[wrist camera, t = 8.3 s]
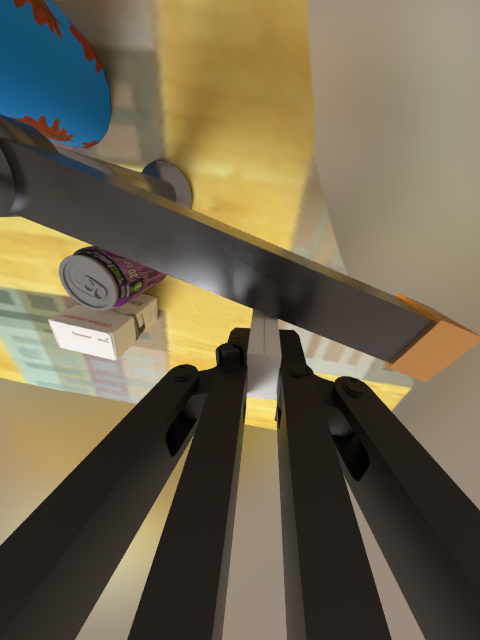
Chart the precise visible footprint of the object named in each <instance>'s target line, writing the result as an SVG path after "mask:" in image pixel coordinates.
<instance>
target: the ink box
mask: <svg viewBox="0 0 480 640" xmlns="http://www.w3.org/2000/svg"><path fill="white" fill-rule="evenodd" d="M157 320H158V304H157V297H154V296H149V295H145V294H140V295H138V296H137V297H135V298H134V299H132V300H131V301H129V302H127V303H126V304H124V305H122V306H120V307H117V308H110V309H108V310H105V311H94V310H91V309H88V308H86V307H84V306H82V305H80V304H78V305H76V306H74V307H72V308H70V309H68V310H66V311H64V312H62V313H60V314H58V315H56V316H54V317H52V318H50V319H49V323H50V326H51V328H52V331H53V333H54V336H55V338H56V341H57V343H58V346H59V347H60V348H65V349H69V350H74V351H78V352H82V353H86V354H91V355H95V356H99V357H103V358H107V359H112V360H117V359H118V358H119V357H120V356H121V355H122V354H123V353H124V352H125V351H126V350H127V349H128V348H129V347H130V346H131V345H132V344H133V343H134V342H135V341H136V340H137V339H138V338H139V337H140V336H141V335H142V334H143V333H144V332H145V331H147V330H148V329H149V328H150V327H151V326H152V325H153V324H154V323H155V322H156V321H157Z"/></svg>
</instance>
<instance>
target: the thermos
mask: <svg viewBox="0 0 480 640" xmlns="http://www.w3.org/2000/svg"><path fill="white" fill-rule="evenodd" d="M0 114H2V115H5V116H7V117H10V118H13V119H16V120H18V121H21V122H24V123H27V124H29V125H31V126H33V127H34V128H36V129H37V130H38V131H40V132H41V133H42V134H43V135H44V136H45V137H46V138H47V139H48V140H49V141H53V142H57V143H61V144H65V145H69V146H73V147H80V148H89V147H91V146H94V145H96V144H98V143H99V142H100V141H101V139H102V138H103V136H104V135H105V134H106V132H107V129H108V125H109V121H110V116H111V105H110V91H109V87H108V84H107V80H106V76H105V73H104V69H103V67H102V65H101V63H100V61H99V59H98V57H97V55H96V53H95V51H94V49H93V47H92V45H91V44H90V43H89V41H88V40H87V39H86V38H85V37H84V36H83V34H82V33H81V32H80V31H79V30H78V28H77V27H76V26H75V25H74V24H73V23H72V22H71V21H70V20H69V19H68V17H67V16H66V15H65V14H64V13H63V12H62V11H61V10H60V9H59V8H58V7H57V6H56V5H55V4H54V2H53V1H52V0H0Z"/></svg>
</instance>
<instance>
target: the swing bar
mask: <svg viewBox="0 0 480 640" xmlns="http://www.w3.org/2000/svg"><path fill="white" fill-rule="evenodd" d="M0 217H23V218H26V219H28V220H31V221H33V222H36V223H38V224H41V225H43V226H46V227H49V228H51V229H54V230H56V231H59V232H61V233H64V234H66V235H69V236H71V237H74V238H76V239H79V240H81V241H84V242H86V243H89V244H91V245H94V246H96V247H99V248H101V249H104V250H106V251H109V252H111V253H114V254H117V255H119V256H122V257H124V258H127V259H129V260H132V261H134V262H137V263H139V264H142V265H144V266H147V267H149V268H152V269H154V270H157V271H159V272H162V273H164V274H167V275H169V276H172V277H174V278H177V279H180V280H182V281H185V282H187V283H190V284H192V285H195V286H197V287H200V288H202V289H205V290H207V291H210V292H212V293H215V294H217V295H220V296H222V297H225V298H227V299H230V300H232V301H235V302H237V303H240V304H242V305H245V306H248V307H250V308H253V309H255V310H258V311H260V312H263V313H265V314H268V315H270V316H273V317H275V318H278V319H280V320H283V321H285V322H288V323H290V324H293V325H295V326H298V327H300V328H303V329H305V330H308V331H311V332H313V333H316V334H318V335H321V336H323V337H326V338H328V339H331V340H333V341H336V342H338V343H341V344H343V345H346V346H348V347H351V348H353V349H356V350H358V351H361V352H363V353H366V354H368V355H371V356H373V357H376V358H379V359H381V360H384V362H385V363H386V364H387V366H388V367H389V368H391V369H393V370H396V371H399V372H401V373H404V374H406V375H409V376H411V377H414V378H416V379H419V380H421V381H424V382H427V381H428V380H429V379H431V378H432V377H433V376H435V375H436V374H437V373H439V372H440V371H441V370H443V369H444V368H445V367H447V366H448V365H449V364H450V363H452V362H453V361H454V360H456V359H457V358H458V357H460V356H461V355H462V354H463V353H465V352H466V351H468V350H469V349H470V348H471V347H473V346H474V345H475V344H477V343H478V342H479V341H480V336H479V335H478V334H476V333H474V332H472V331H471V330H469V329H467V328H466V327H464V326H462V325H461V324H459V323H457V322H455V321H454V320H452V319H450V318H449V317H447V316H445V315H443V314H442V313H440V312H438V311H437V310H435V309H433V308H431V307H429V306H427V305H424V304H422V303H420V302H417V301H415V300H413V299H410V298H408V297H405V296H403V295H401V294H399V295H398V296H397V297H396V296H393V295H391V294H389V293H386V292H384V291H382V290H379V289H377V288H375V287H372V286H370V285H367V284H365V283H363V282H361V281H358V280H356V279H354V278H351V277H349V276H347V275H344V274H342V273H339V272H337V271H335V270H332V269H330V268H328V267H325V266H323V265H321V264H318V263H316V262H314V261H311V260H309V259H307V258H304V257H302V256H300V255H297V254H295V253H293V252H290V251H288V250H285V249H283V248H281V247H278V246H276V245H274V244H271V243H269V242H267V241H264V240H262V239H260V238H257V237H255V236H253V235H250V234H248V233H246V232H243V231H241V230H239V229H236V228H234V227H231V226H229V225H227V224H224V223H222V222H220V221H217V220H215V219H213V218H210V217H208V216H206V215H203V214H201V213H199V212H196V211H194V210H192V209H189V208H187V207H185V206H182V205H180V204H178V203H175V202H173V201H170V200H168V199H166V198H163V197H161V196H159V195H156V194H154V193H152V192H149V191H147V190H145V189H142V188H140V187H138V186H135V185H133V184H131V183H128V182H126V181H124V180H121V179H119V178H116V177H114V176H112V175H109V174H107V173H105V172H102V171H100V170H98V169H95V168H93V167H91V166H88V165H86V164H84V163H81V162H79V161H77V160H74V159H72V158H70V157H67V156H65V155H62V154H60V153H59V152H58V151H57V149H56V148H55V147H54V145H53V144H52V143H51V142H50V141H49V140H48V139H47V138H46V137H45V136H44V135H43V134H42V133H41V132H40V131H38V130H37V129H36V128H34V127H33V126H31V125H29V124H27V123H24V122H21V121H18V120H16V119H13V118H10V117H7V116H5V115H2V114H0Z"/></svg>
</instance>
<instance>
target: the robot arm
mask: <svg viewBox="0 0 480 640" xmlns="http://www.w3.org/2000/svg"><path fill="white" fill-rule="evenodd" d="M216 361H217V366H216V367H214V368H212V369H208V370H203V371H198V370H197V368H196V367H195V366H192V365H188V364H184V365H179V366H176V367H174V368H173V369H171V370H170V371H169V372H168V373H167V374H166V375H165V376H164V377H163V378H162V379H161V380H160V381H159V382H158V383H157V384H156V385H155V386H154V387H153V388H152V389H151V391H150V392H149V393H148V394H147V395H146V396H145V397H144V398H143V399H142V400H141V401H140V402H139V403H138V404H137V405H136V406H135V407H134V408H133V409H132V410H131V411H130V412H129V413H128V414H127V415H126V416H125V417H124V418H123V419H122V421H121V422H120V423H119V424H118V425H117V426H116V427H115V428H114V429H113V430H112V431H111V432H110V433H109V434H108V435H107V436H106V437H105V438H104V439H103V440H102V441H101V442H100V443H99V444H98V445H97V446H96V447H95V448H94V449H93V451H92V452H91V453H90V454H89V455H88V456H87V457H86V458H85V459H84V460H83V461H82V462H81V463H80V464H79V465H78V466H77V467H76V468H75V469H74V470H73V471H72V472H71V473H70V474H69V475H68V476H67V477H66V478H65V479H64V480H63V482H61V484H60V485H59V486H58V487H57V488H56V489H55V490H54V491H53V492H52V493H51V494H50V495H49V496H48V497H47V498H46V499H45V500H44V501H43V502H42V503H41V504H40V505H39V506H38V507H37V508H36V509H35V510H34V511H33V512H32V514H31V515H30V516H29V517H28V518H27V519H26V520H25V521H24V522H23V523H22V524H21V525H20V526H19V527H18V528H17V529H16V530H15V531H14V532H13V533H12V534H11V535H10V536H9V537H8V538H7V539H6V540H5V541H4V542H3V543H2V544H1V546H0V640H75V638H76V636H77V635H78V633H79V632H80V630H81V628H82V626H83V625H84V623H85V621H86V619H87V618H88V616H89V614H90V612H91V611H92V609H93V607H94V606H95V604H96V602H97V601H98V599H99V597H100V595H101V594H102V592H103V590H104V588H105V587H106V585H107V583H108V582H109V580H110V578H111V576H112V575H113V573H114V571H115V570H116V568H117V566H118V564H119V563H120V561H121V559H122V558H123V556H124V554H125V552H126V551H127V549H128V547H129V545H130V544H131V542H132V540H133V538H134V537H135V535H136V533H137V531H138V530H139V528H140V527H141V525H142V523H143V521H144V519H145V518H146V516H147V514H148V512H149V511H150V509H151V508H152V506H153V504H154V502H155V501H156V499H157V497H158V495H159V494H160V492H161V490H162V489H163V487H164V485H165V483H166V482H167V480H168V478H169V476H170V475H171V473H172V471H173V470H174V468H175V466H176V464H177V463H178V461H179V459H180V458H181V456H182V454H183V452H184V451H185V449H186V447H187V446H188V444H189V442H190V440H191V439H192V437H193V435H194V437H193V440H192V443H191V446H190V449H189V452H188V455H187V458H186V461H185V465H184V468H183V471H182V474H181V477H180V480H179V483H178V486H177V489H176V492H175V495H174V499H173V501H172V505H171V508H170V511H169V514H168V517H167V520H166V523H165V526H164V529H163V532H162V535H161V538H160V541H159V544H158V547H157V550H156V553H155V556H154V560H153V563H152V566H151V569H150V572H149V575H148V578H147V581H146V584H145V587H144V590H143V593H142V596H141V600H140V602H139V605H138V609H137V612H136V615H135V618H134V621H133V624H132V627H131V630H130V633H129V636H128V639H127V640H222V632H223V623H224V613H225V603H226V594H227V585H228V575H229V566H230V556H231V547H232V537H233V528H234V518H235V508H236V499H237V488H238V479H239V471H240V461H241V452H242V442H243V433H244V423H245V414H246V398H247V397H250V398H260V399H271V400H276V397H277V408H276V416H275V421H277V438H278V459H279V479H280V499H281V500H280V501H281V522H282V540H283V541H282V543H283V564H284V584H285V604H286V624H287V625H286V626H287V640H392V639H391V636H390V633H389V629H388V626H387V622H386V619H385V615H384V612H383V609H382V605H381V602H380V598H379V595H378V591H377V588H376V585H375V581H374V578H373V574H372V571H371V568H370V564H369V561H368V557H367V554H366V550H365V547H364V544H363V540H362V537H361V533H360V530H359V527H358V523H357V520H356V516H355V513H354V510H353V506H352V503H351V499H350V496H349V492H348V489H347V486H346V482H345V479H344V476H345V478H346V480H347V482H348V484H349V487H350V488H351V491H352V492H353V495H354V496H355V499H356V500H357V502H358V505H359V506H360V508H361V511H362V513H363V515H364V517H365V519H366V521H367V523H368V525H369V527H370V528H371V531H372V533H373V535H374V537H375V539H376V541H377V543H378V545H379V547H380V549H381V551H382V553H383V555H384V557H385V559H386V561H387V563H388V565H389V567H390V569H391V571H392V573H393V575H394V577H395V579H396V581H397V583H398V585H399V587H400V589H401V591H402V593H403V595H404V597H405V599H406V601H407V603H408V605H409V607H410V609H411V611H412V613H413V615H414V617H415V619H416V621H417V623H418V625H419V627H420V629H421V631H422V633H423V635H424V637H425V639H426V640H480V510H479V509H478V508H477V507H476V506H475V505H474V503H472V501H471V500H470V499H469V498H468V497H467V496H466V495H465V493H464V492H463V491H462V490H461V489H460V488H459V487H458V486H457V484H456V483H455V482H454V481H453V480H452V479H451V478H450V477H449V476H448V474H447V473H446V472H445V471H444V470H443V469H442V468H441V467H440V466H439V464H438V463H437V462H436V461H435V460H434V459H433V458H432V457H431V455H430V454H429V453H428V452H427V451H426V450H425V449H424V448H423V447H422V445H421V444H420V443H419V442H418V441H417V440H416V439H415V438H414V436H413V435H412V434H411V433H410V432H409V431H408V430H407V429H406V428H405V426H404V425H403V424H402V423H401V422H400V421H399V420H398V419H397V417H396V416H395V415H394V414H393V413H392V412H391V411H390V410H389V409H388V407H387V406H386V405H385V404H384V403H383V402H382V401H381V400H380V398H379V397H378V396H377V395H376V394H375V393H374V392H373V391H372V390H371V388H370V387H369V386H367V385H366V384H365V383H364V382H362V381H360V380H358V379H356V378H353V377H347V376H342V377H339V378H337V379H336V380H335V382H332V381H329V380H326V379H323V378H320V377H318V376H316V375H315V374H314V373H313V371H312V369H311V368H310V367H309V366H308V365H307V364H306V360H305V357H304V353H303V349H302V345H301V342H300V338H299V335H298V334H297V333H296V332H295V331H294V330H280V329H279V327H278V318H275V317H273V316H270V315H268V314H265V313H263V312H260V311H258V310H255V309H253V315H252V322H251V328H234V329H233V330H232V331H231V332H230V336H229V339H228V343H225V344H222V345H220V346H219V347H218V348H217V349H216ZM194 433H195V434H194ZM343 474H344V475H343Z"/></svg>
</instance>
